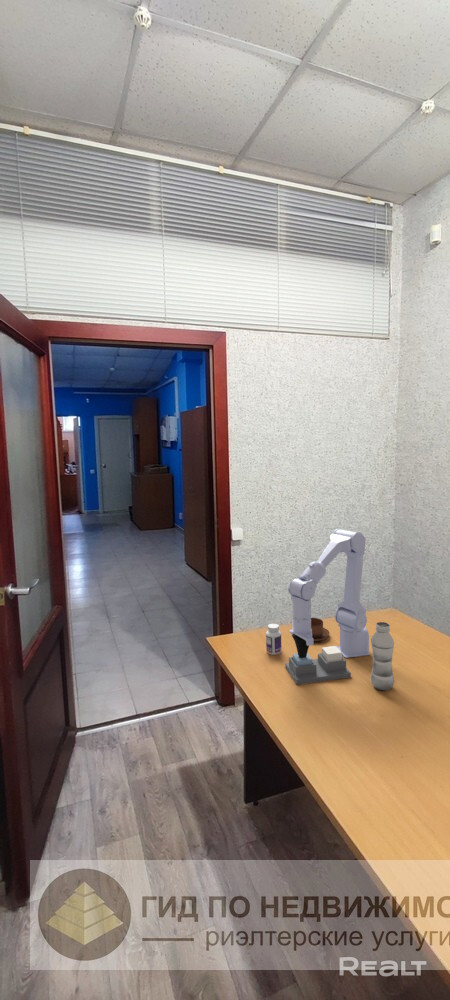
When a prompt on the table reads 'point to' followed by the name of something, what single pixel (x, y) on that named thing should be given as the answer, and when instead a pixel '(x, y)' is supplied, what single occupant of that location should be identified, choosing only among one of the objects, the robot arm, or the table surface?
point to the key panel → (317, 670)
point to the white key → (331, 654)
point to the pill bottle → (273, 639)
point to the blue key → (302, 660)
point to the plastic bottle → (382, 657)
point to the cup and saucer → (318, 630)
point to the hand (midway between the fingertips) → (302, 656)
